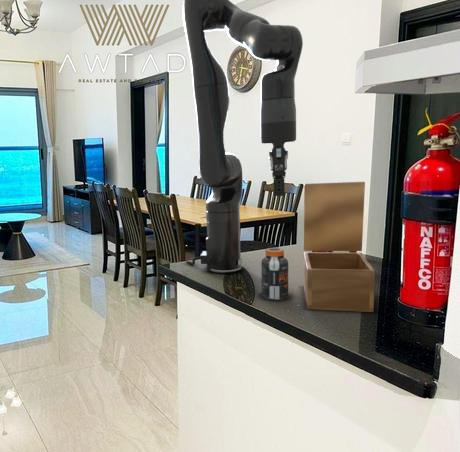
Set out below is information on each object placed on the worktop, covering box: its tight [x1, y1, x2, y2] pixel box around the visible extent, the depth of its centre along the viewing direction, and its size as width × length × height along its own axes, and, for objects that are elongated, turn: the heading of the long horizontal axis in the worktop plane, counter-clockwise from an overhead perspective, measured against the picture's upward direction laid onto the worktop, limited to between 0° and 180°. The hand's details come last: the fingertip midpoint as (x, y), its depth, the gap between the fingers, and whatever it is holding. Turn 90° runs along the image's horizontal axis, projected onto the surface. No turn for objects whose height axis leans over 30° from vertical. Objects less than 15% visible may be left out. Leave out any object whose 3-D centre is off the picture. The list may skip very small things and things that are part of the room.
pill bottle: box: [261, 247, 289, 301], centre depth 106 cm, size 6×6×11 cm
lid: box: [303, 181, 366, 252], centre depth 109 cm, size 16×13×6 cm
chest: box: [303, 251, 376, 313], centre depth 102 cm, size 16×13×9 cm
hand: (278, 193), depth 104 cm, fingers open, 8 cm apart
